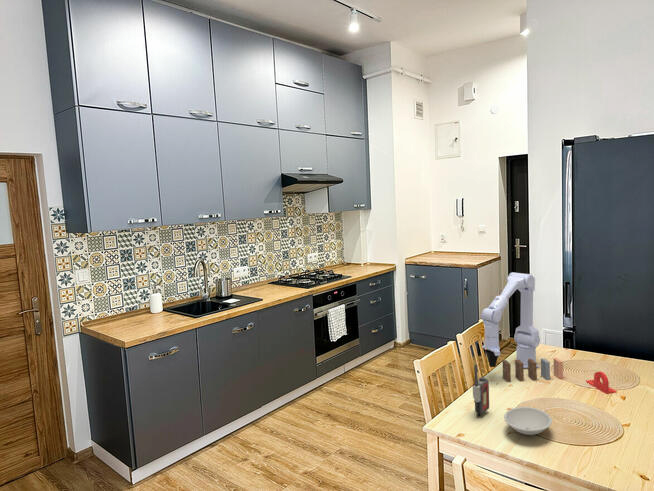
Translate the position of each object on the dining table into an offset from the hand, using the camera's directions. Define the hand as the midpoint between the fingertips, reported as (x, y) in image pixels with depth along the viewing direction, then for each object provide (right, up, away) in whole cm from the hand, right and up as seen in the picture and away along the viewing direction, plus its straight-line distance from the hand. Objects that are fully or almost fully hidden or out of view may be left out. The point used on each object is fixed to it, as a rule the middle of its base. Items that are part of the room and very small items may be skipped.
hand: (492, 366), depth 192 cm
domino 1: (+12, -6, 0) cm, 13 cm away
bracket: (+39, -6, -13) cm, 41 cm away
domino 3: (+28, -5, -1) cm, 29 cm away
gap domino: (+23, -5, 0) cm, 23 cm away
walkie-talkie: (-16, -10, -29) cm, 34 cm away
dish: (-4, -11, -43) cm, 45 cm away
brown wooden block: (+6, -6, 0) cm, 9 cm away
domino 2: (+17, -5, 0) cm, 18 cm away
